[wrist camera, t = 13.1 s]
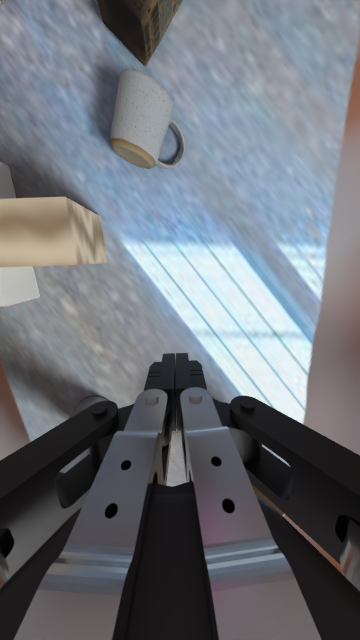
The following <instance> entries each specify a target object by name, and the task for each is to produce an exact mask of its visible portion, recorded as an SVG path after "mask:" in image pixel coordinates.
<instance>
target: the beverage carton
mask: <svg viewBox="0 0 360 640" xmlns="http://www.w3.org/2000/svg"><path fill="white" fill-rule="evenodd" d="M97 1H98V5H99V8H100V11H101V15H102V18H103V22H104V24H105V25H106V26H107V27H108V28H109V29H110V30H111V31H112V32H113V33H114V34H115V35H116V36H117V37H118V38H119V39H120V40H121V41H122V42H123V43H124V44H125V45H126V47H127V48H128V49H129V50H130V51H131V52H132V53H133V54H134V55H135V56H136V57H137V58H138V59H139V60H140V61H141V62H142V63H143V65H145V66H146V65H147V63H148V61H149V59H150V58H151V56H152V54H153V53H154V51H155V49H156V47H157V46H158V44H159V42H160V40H161V39H162V37H163V35H164V33H165V31H166V29H167V28H168V26H169V24H170V22H171V20H172V18H173V16H174V15H175V13H176V11H177V9H178V7H179V6H180V4H181V2H182V0H97Z"/></svg>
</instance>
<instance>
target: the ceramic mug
mask: <svg viewBox="0 0 360 640" xmlns="http://www.w3.org/2000/svg"><path fill="white" fill-rule="evenodd" d="M172 114H173V103H172V101H171V98H170V97H169V95H168V94H167V92H166V91H165V90H164V88H163V87H162V86H161V85H160V84H158V83H157V82H156V81H155V80H154V79H153V78H151V77H150V76H148V75H147V74H145V73H143V72H141V71H137V70H134V69H126V70H124V71H123V72H122V73H121V74H120V78H119V84H118V91H117V97H116V103H115V109H114V116H113V121H112V126H111V138H110V141H111V146H112V148H113V149H114V151H115V152H116V153H117V154H118V155H119V156H120V157H122V158H123V159H125V160H126V161H128V162H130V163H132V164H134V165H136V166H139V167H142V168H146V169H150V168H152V167H154V166H155V164H156V165H157V166H159V167H161V168H164V169H171V168H174V167H175V166H177V165H178V164H179V163H180V162H181V160H182V158H183V156H184V153H185V147H186V145H185V139H184V135H183V133H182V131H181V129H180V127H179V126H178V125H177V123H176V122H175V121H174V120H173V119H172ZM169 125H170V126H171V127H172V128H173V130H174V131H175V132H176V134H177V136H178V138H179V141H180V150H179V152H178V155H177V157H176V158H175V159H174V162H173V164H169V165H167V164H164V163H162V162H160V161H159V160H158V158H159V155H160V152H161V149H162V145H163V142H164V139H165V136H166V133H167V130H168V127H169Z"/></svg>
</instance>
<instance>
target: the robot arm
mask: <svg viewBox="0 0 360 640" xmlns="http://www.w3.org/2000/svg"><path fill="white" fill-rule="evenodd" d="M176 407H177V428H178V430H181V432H182V450H183V459H184V467H185V476H186V483H184V484H181V485H178V486H174V487H170V486H166V481H167V473H168V464H169V456H170V447H171V444H170V441H171V434H172V431H176ZM262 444H263V445H264V446H266V447H267V448H269V449H270V450H271V451H273V452H274V453H276V454H277V455H278V456H280V457H281V458H283V459H284V460H285V461H286V462H287V463H288V464H289V465H290V466H291V467H289V466H288V465H287V464H285V463H284V462H283V461H281V460H280V459H278V458H277V457H276V456H274V455H273V454H271V453H270V452H269V451H267V450H266V449H265V448H263V447H262ZM251 484H253V485H254V486H255V487H256V488H257V489H258V490H259V491H260V492H261V493H262V494H263V495H265V496H266V497H267V498H268V499H269V500H270V501H271V502H272V503H273V504H274V505H276V506H277V507H278V508H279V509H280V510H281V511H282V512H283V513H284V514H285V515H287V516H288V517H289V518H290V519H291V520H292V521H293V522H294V523H295V524H296V525H298V526H299V527H300V528H301V529H302V530H303V531H304V532H305V533H306V534H307V535H309V536H310V537H311V538H312V539H313V540H314V541H315V542H316V543H317V544H319V545H320V546H321V547H322V548H323V549H324V550H325V551H326V552H327V553H328V554H329V555H331V556H332V557H333V558H334V559H335V560H336V561H337V562H338V563H339V564H340V565H341V568H342V571H343V573H344V575H342V573H341V572H340V571H339V570H337V569H336V568H335V567H334V566H333V565H332V564H331V563H330V562H329V561H328V560H327V559H326V558H325V557H324V556H323V555H322V554H321V553H320V552H319V551H318V550H317V549H316V548H315V547H314V546H313V545H312V544H311V543H310V542H309V541H307V540H306V538H305V537H304V536H303V535H301V534H300V533H299V532H298V531H297V530H296V529H295V528H294V527H293V526H292V525H291V524H290V523H289V522H288V521H287V520H286V519H285V518H284V517H283V516H282V515H281V514H280V513H279V512H278V511H277V510H276V509H275V508H274V507H272V506H271V505H270V504H269V503H267V502H266V501H265V500H263V499H262V498H260V497H259V496H257V495H255V492H254V490H253V487H252V485H251ZM0 640H360V455H358V454H356V453H354V452H352V451H350V450H349V449H347V448H345V447H343V446H341V445H339V444H338V443H336V442H334V441H332V440H330V439H328V438H327V437H325V436H323V435H321V434H319V433H317V432H316V431H314V430H312V429H310V428H308V427H307V426H305V425H303V424H301V423H299V422H297V421H296V420H294V419H292V418H290V417H288V416H287V415H285V414H283V413H281V412H279V411H277V410H276V409H274V408H272V407H270V406H268V405H266V404H265V403H263V402H261V401H259V400H257V399H255V398H253V397H249V396H238V397H235V398H234V399H232V401H231V403H230V404H229V403H223V402H220V401H217V400H215V399H213V398H212V397H211V395H210V393H209V392H208V391H207V387H206V383H205V379H204V375H203V371H202V366H201V364H200V363H199V362H198V361H197V360H196V361H189V360H188V353H176V364H175V353H171V354H163V358H162V362H154V363H153V364H152V365H151V366H150V368H149V373H148V377H147V380H146V384H145V388H144V392H142V393H141V394H139V395H138V397H137V399H136V401H135V403H134V404H132V405H130V406H126V407H123V408H119V409H118V407H117V405H116V403H114V402H112V401H108V400H107V399H105V398H102V397H96V396H93V397H88V398H85V399H84V400H82V401H81V402H80V403H79V405H78V406H77V408H76V409H75V411H74V412H73V414H72V415H71V417H70V418H69V419H68V420H66V421H65V422H63V423H61V424H60V425H58V426H56V427H55V428H53V429H52V430H50V431H48V432H47V433H45V434H43V435H42V436H40V437H38V438H37V439H35V440H34V441H32V442H30V443H29V444H27V445H25V446H24V447H22V448H20V449H19V450H17V451H16V452H14V453H12V454H11V455H9V456H7V457H6V458H4V459H2V460H1V461H0Z"/></svg>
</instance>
